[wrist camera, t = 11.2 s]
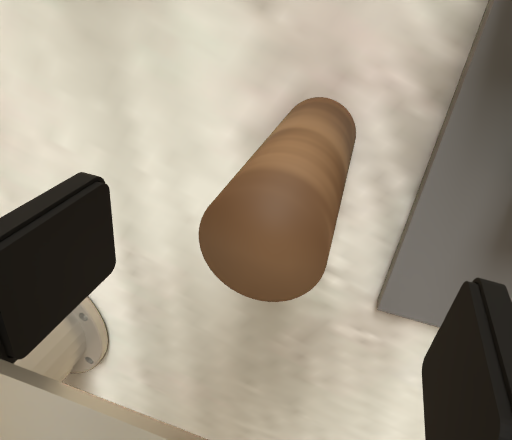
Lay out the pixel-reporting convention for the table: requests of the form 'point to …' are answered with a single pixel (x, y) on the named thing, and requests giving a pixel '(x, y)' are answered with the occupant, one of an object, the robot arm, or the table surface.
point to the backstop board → (462, 188)
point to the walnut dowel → (282, 206)
